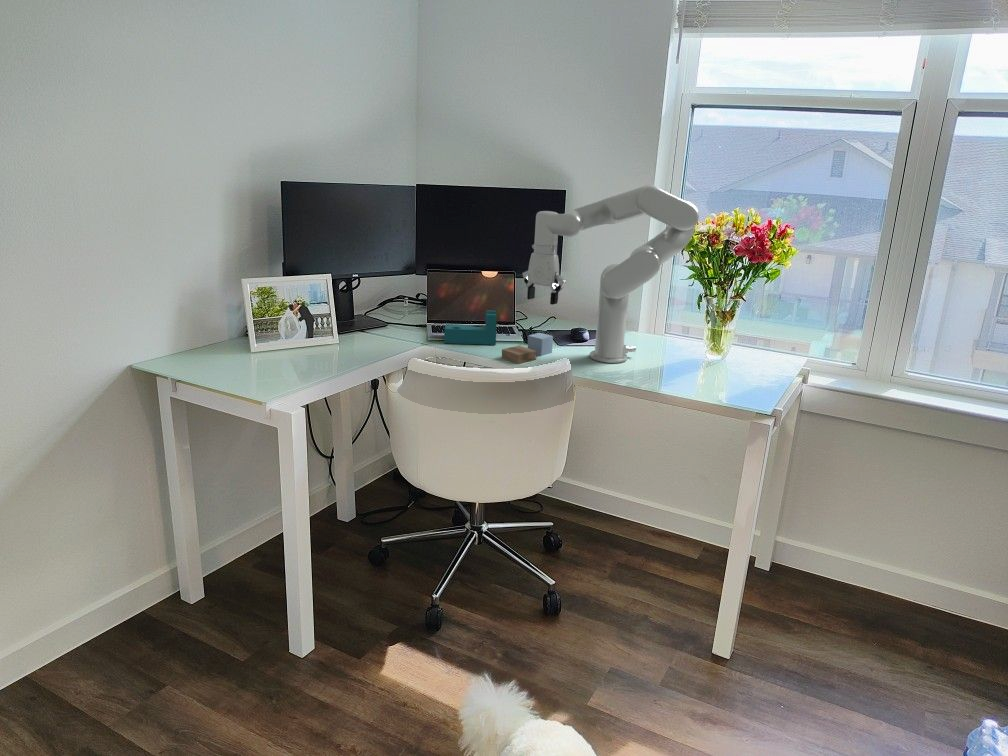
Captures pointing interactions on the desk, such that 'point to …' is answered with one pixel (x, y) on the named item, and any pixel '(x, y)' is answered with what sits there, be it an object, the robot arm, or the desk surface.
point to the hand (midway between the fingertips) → (542, 301)
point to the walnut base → (519, 354)
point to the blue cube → (540, 343)
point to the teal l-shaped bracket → (473, 332)
